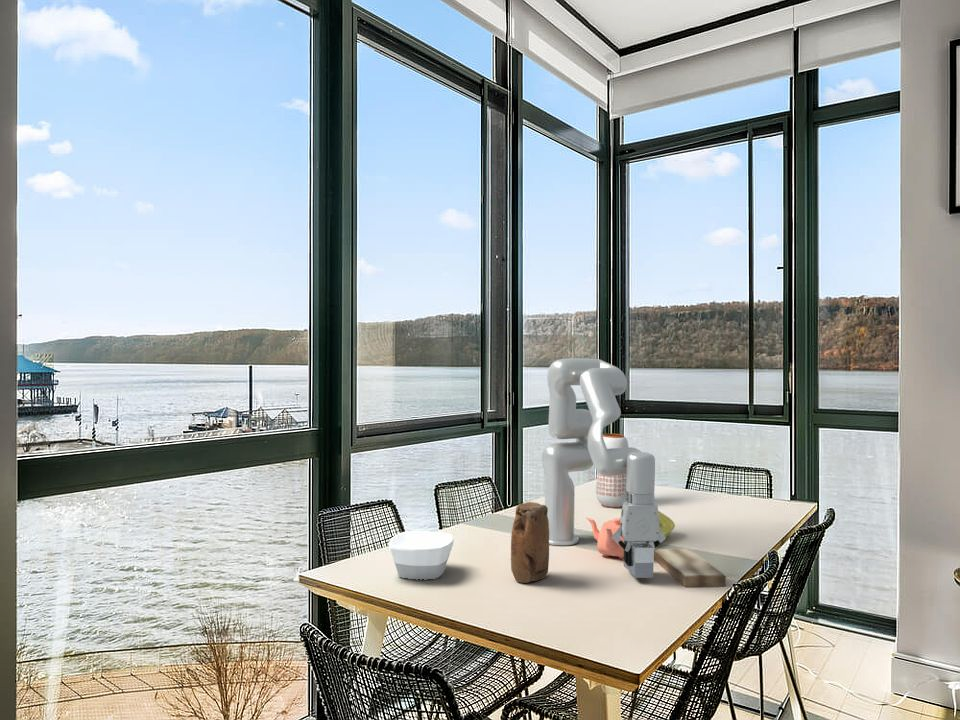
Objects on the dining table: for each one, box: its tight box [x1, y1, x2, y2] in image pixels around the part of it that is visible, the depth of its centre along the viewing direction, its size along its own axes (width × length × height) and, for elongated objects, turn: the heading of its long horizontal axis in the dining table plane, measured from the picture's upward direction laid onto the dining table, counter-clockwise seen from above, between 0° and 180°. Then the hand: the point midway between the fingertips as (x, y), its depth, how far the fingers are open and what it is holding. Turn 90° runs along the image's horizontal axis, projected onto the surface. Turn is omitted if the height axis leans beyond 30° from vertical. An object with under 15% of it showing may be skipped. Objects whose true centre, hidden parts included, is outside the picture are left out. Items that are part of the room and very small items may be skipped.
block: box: [510, 501, 550, 584], centre depth 188 cm, size 11×8×20 cm
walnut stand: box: [654, 548, 727, 588], centre depth 195 cm, size 11×24×3 cm, turn 6°
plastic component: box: [656, 510, 676, 538], centre depth 229 cm, size 20×7×10 cm
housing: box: [623, 542, 655, 579], centre depth 190 cm, size 5×10×8 cm, turn 6°
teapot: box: [585, 517, 624, 561], centre depth 210 cm, size 14×14×11 cm
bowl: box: [388, 530, 455, 581], centre depth 192 cm, size 18×18×9 cm
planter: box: [595, 433, 629, 509], centre depth 276 cm, size 13×13×28 cm
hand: (638, 563), depth 190 cm, fingers closed on housing, 5 cm apart
